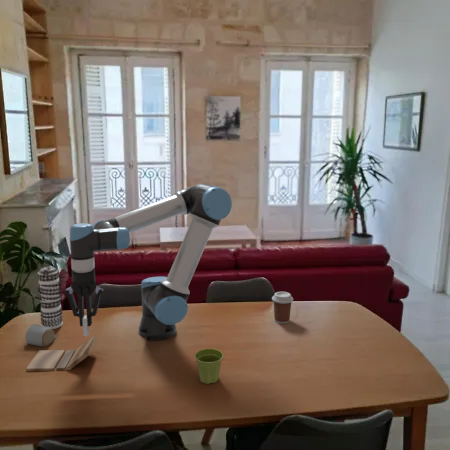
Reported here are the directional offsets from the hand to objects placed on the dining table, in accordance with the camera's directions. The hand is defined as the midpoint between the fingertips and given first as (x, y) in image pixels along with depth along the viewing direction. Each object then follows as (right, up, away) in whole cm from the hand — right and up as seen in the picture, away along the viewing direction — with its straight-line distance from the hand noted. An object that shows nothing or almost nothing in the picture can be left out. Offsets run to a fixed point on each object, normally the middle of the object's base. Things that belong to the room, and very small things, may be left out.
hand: (86, 334), depth 157 cm
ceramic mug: (-22, -8, +17) cm, 29 cm away
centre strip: (-8, -11, +2) cm, 13 cm away
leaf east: (-14, -10, +1) cm, 18 cm away
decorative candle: (-25, -4, +34) cm, 42 cm away
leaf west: (-1, -7, +2) cm, 7 cm away
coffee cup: (+73, -4, +39) cm, 83 cm away
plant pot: (+43, -13, -8) cm, 46 cm away
